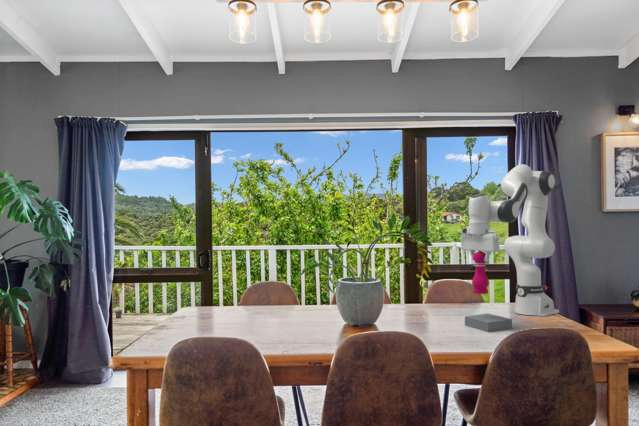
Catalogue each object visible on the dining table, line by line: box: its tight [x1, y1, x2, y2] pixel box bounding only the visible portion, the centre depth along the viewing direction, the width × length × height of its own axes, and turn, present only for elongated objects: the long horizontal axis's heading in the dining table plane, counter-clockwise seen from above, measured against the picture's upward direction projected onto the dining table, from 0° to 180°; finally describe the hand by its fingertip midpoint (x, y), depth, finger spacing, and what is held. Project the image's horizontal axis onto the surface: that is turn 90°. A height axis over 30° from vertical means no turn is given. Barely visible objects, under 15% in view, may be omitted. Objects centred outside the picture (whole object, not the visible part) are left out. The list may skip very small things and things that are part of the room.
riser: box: [464, 313, 513, 333], centre depth 210 cm, size 14×14×4 cm
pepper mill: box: [471, 251, 490, 295], centre depth 211 cm, size 7×7×20 cm
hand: (480, 260), depth 211 cm, fingers closed on pepper mill, 6 cm apart
